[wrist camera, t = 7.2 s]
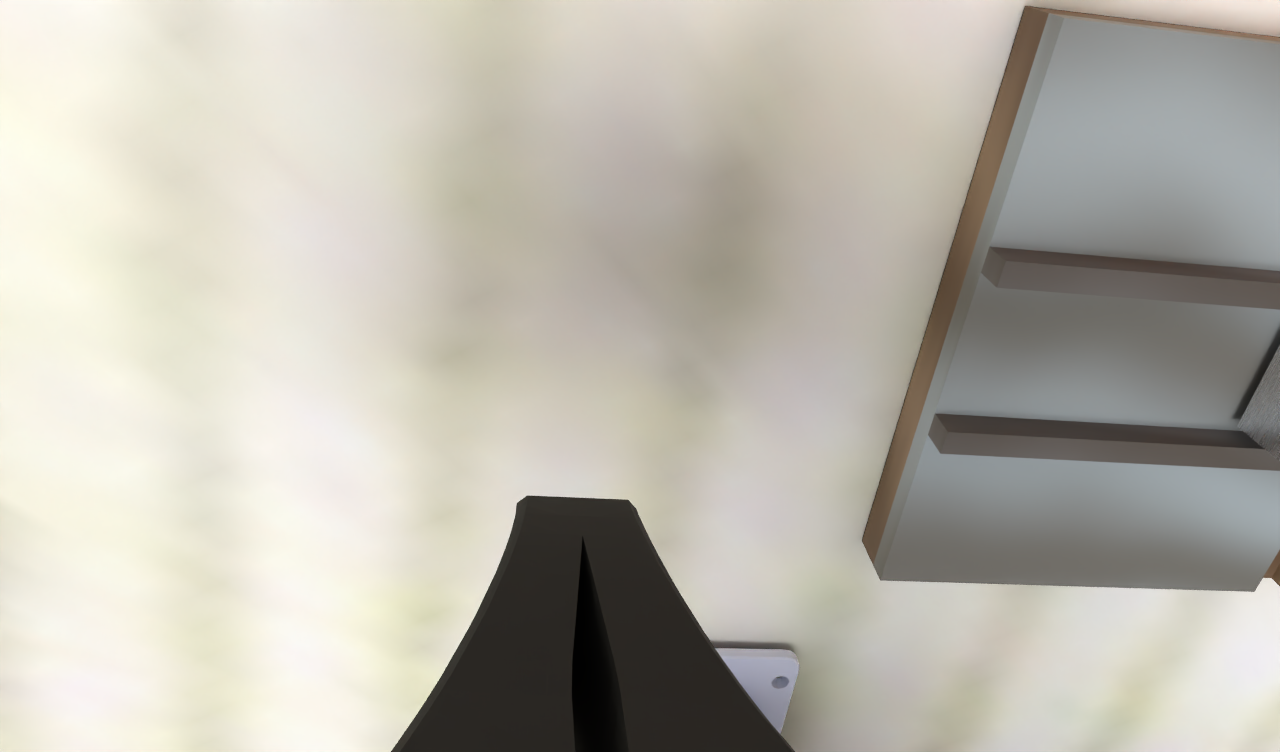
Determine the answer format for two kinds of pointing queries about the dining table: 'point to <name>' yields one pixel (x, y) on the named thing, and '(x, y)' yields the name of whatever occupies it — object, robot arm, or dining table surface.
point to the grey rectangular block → (1265, 410)
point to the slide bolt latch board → (1102, 324)
